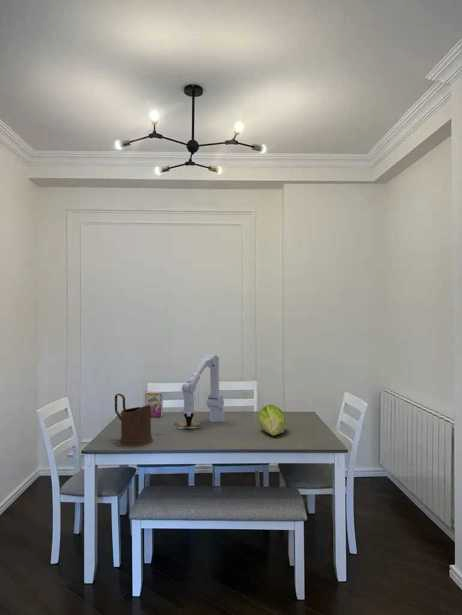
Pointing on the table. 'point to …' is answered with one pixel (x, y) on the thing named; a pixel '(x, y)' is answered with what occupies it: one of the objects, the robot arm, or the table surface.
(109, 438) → the table surface
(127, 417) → the brown metal pitcher
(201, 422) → the grey long block
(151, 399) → the candy bar box
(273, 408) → the lettuce
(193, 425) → the flip panel
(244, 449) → the table surface
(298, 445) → the table surface
